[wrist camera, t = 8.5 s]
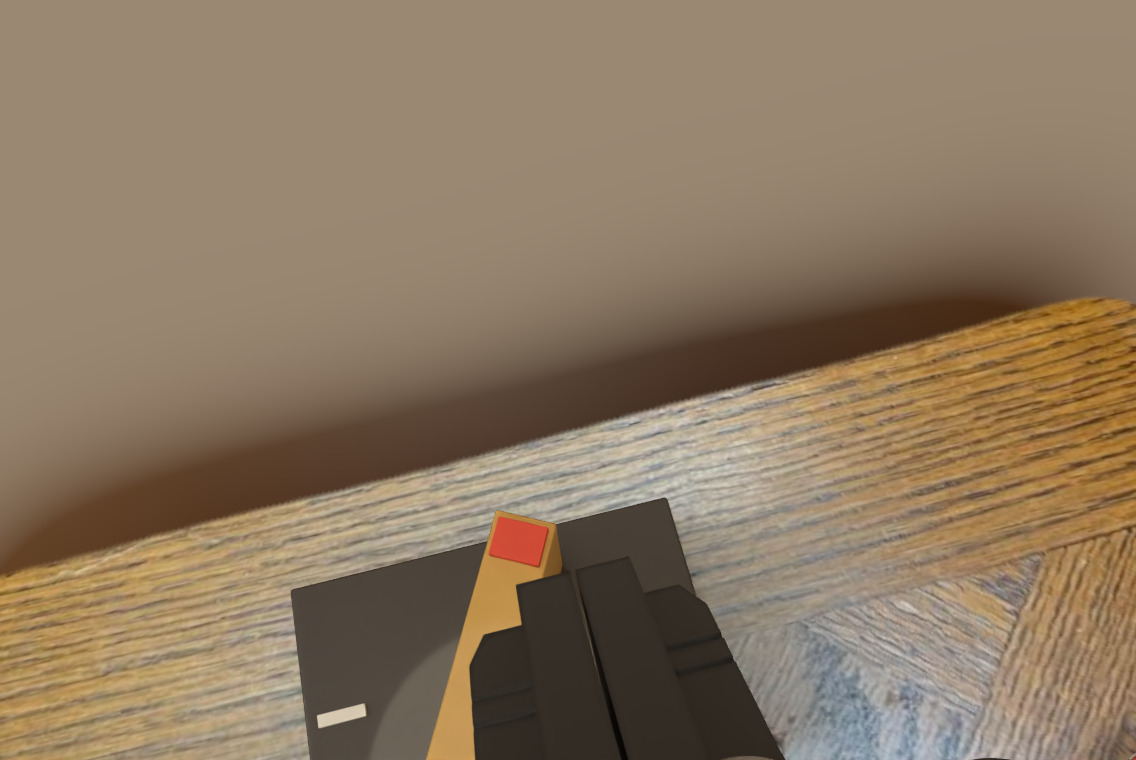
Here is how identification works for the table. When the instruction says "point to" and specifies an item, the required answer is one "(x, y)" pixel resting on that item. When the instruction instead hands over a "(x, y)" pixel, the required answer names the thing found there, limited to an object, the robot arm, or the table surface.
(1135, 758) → the ice cream cone
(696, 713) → the robot arm
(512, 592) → the lock knob
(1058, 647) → the table surface
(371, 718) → the plate
